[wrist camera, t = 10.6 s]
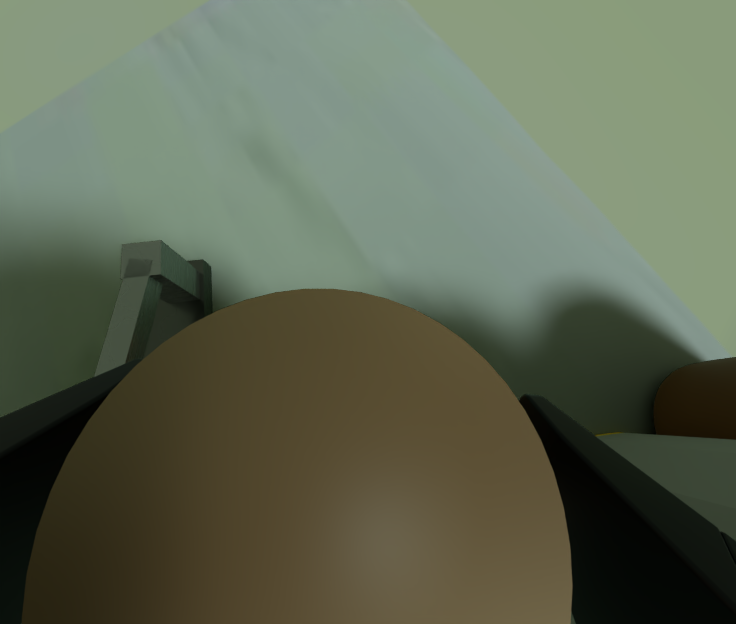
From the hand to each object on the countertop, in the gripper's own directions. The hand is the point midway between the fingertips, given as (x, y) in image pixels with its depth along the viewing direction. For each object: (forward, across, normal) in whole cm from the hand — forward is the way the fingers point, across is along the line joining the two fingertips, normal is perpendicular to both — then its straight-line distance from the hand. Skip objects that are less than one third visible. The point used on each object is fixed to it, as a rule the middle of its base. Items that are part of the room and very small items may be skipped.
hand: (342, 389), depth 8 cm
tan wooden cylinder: (+5, 0, +7) cm, 8 cm away
